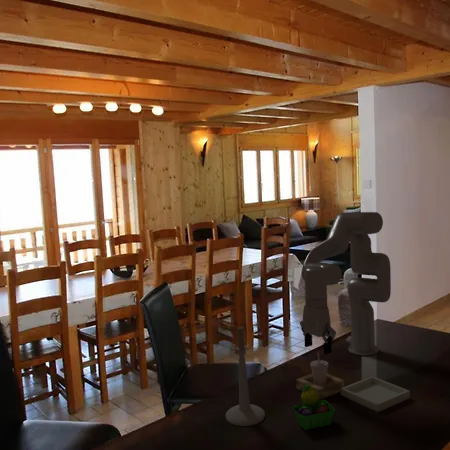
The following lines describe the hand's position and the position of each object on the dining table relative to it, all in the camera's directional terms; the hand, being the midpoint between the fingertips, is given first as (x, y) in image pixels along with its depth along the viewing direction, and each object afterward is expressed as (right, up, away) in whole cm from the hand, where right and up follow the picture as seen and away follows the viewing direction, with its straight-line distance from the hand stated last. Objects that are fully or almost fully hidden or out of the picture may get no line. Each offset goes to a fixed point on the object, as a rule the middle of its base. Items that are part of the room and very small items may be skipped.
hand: (317, 349), depth 175 cm
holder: (+1, -15, +2) cm, 15 cm away
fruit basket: (-5, -18, -21) cm, 28 cm away
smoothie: (+1, -15, +2) cm, 15 cm away
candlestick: (-26, -18, -14) cm, 35 cm away
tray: (+18, -14, -6) cm, 24 cm away
